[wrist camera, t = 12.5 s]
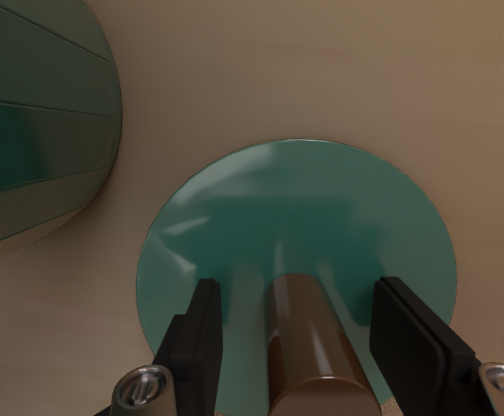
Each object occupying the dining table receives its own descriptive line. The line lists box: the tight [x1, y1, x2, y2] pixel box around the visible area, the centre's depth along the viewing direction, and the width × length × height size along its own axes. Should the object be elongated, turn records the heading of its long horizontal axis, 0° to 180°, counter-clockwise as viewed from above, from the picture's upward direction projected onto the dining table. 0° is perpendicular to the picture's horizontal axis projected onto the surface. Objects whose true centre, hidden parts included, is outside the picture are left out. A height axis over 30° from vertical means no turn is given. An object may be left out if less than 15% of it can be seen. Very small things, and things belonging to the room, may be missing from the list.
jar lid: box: [136, 138, 457, 416], centre depth 10 cm, size 12×12×6 cm
